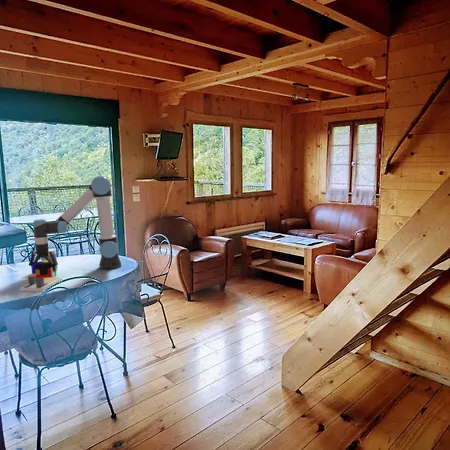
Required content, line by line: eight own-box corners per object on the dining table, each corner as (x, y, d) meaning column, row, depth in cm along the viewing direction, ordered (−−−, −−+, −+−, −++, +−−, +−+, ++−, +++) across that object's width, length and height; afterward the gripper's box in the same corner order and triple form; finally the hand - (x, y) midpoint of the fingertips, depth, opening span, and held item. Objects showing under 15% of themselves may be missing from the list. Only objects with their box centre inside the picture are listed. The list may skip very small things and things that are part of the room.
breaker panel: (62, 280, 241) (61, 277, 241) (43, 291, 221) (42, 287, 220) (41, 280, 243) (40, 277, 242) (20, 291, 222) (19, 287, 222)
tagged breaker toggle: (36, 282, 230) (36, 273, 230) (33, 283, 227) (32, 275, 226) (31, 282, 231) (31, 273, 230) (28, 283, 228) (27, 275, 227)
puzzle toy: (32, 278, 247) (31, 263, 246) (44, 274, 256) (43, 260, 255) (44, 280, 244) (43, 264, 242) (56, 276, 253) (55, 261, 251)
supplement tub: (58, 271, 264) (57, 250, 262) (43, 273, 259) (41, 252, 256) (56, 268, 272) (54, 248, 270) (41, 270, 267) (39, 250, 264)
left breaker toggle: (44, 285, 224) (43, 277, 224) (41, 286, 221) (40, 279, 221) (39, 285, 225) (38, 277, 224) (36, 286, 222) (35, 279, 221)
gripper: (62, 242, 249) (64, 274, 252) (27, 242, 252) (30, 274, 255) (55, 244, 242) (58, 278, 245) (20, 244, 244) (23, 277, 247)
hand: (44, 276), depth 250 cm, fingers open, 11 cm apart
